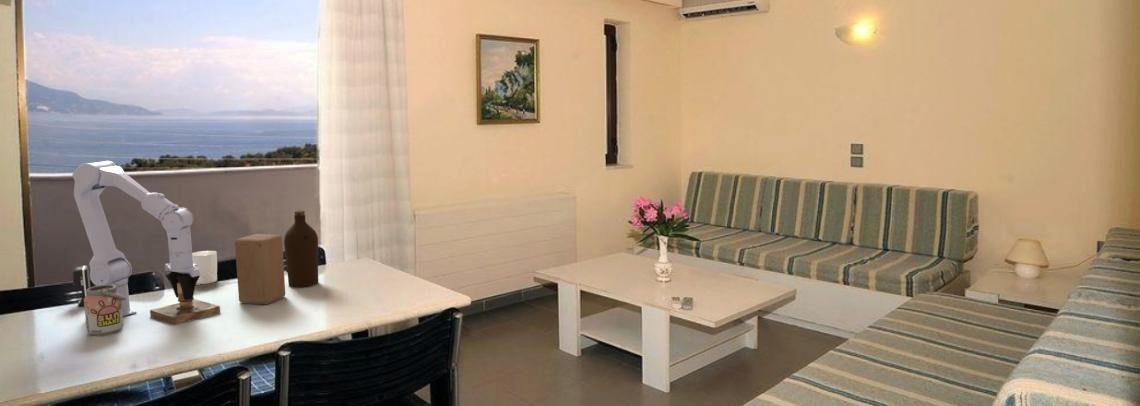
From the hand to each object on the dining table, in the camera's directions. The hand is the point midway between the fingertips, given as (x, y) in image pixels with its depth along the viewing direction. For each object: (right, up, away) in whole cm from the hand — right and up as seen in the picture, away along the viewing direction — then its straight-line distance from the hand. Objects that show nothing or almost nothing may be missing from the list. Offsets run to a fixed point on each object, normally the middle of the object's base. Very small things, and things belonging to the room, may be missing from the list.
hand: (184, 297), depth 197 cm
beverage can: (-13, -7, -13) cm, 20 cm away
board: (0, -5, +1) cm, 5 cm away
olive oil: (+21, 0, +35) cm, 40 cm away
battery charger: (-37, -4, +11) cm, 39 cm away
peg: (0, -3, +1) cm, 3 cm away
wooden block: (+15, -3, +16) cm, 22 cm away
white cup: (-14, 0, +38) cm, 40 cm away
